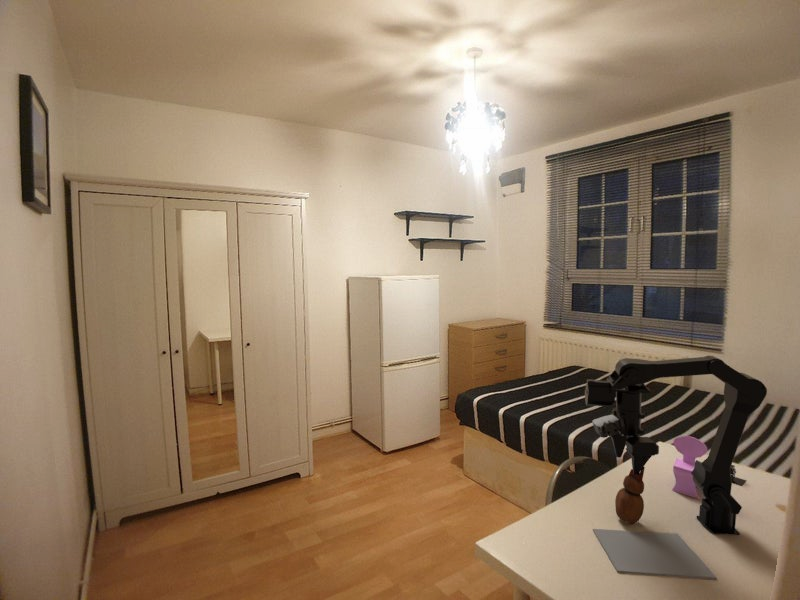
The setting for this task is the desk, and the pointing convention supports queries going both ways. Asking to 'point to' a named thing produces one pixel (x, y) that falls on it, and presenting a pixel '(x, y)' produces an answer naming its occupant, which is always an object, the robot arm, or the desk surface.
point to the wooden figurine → (630, 498)
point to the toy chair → (687, 463)
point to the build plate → (735, 479)
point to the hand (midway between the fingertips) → (626, 465)
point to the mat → (651, 554)
